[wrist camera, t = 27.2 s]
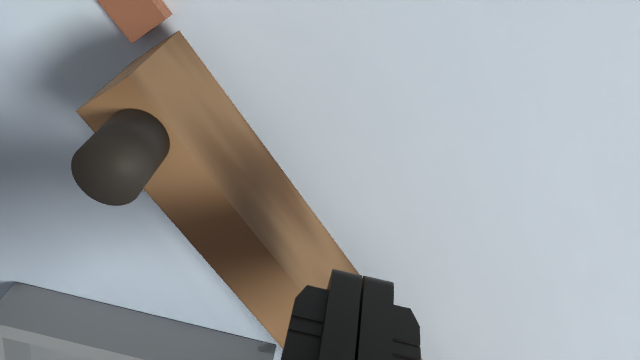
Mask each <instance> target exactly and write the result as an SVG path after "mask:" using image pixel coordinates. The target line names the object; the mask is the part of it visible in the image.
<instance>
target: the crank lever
mask: <svg viewBox="0 0 640 360" xmlns="http://www.w3.org/2000/svg"><path fill="white" fill-rule="evenodd" d="M76 112H77V113H78V114H79V115H80V116H81V118H82V119H83V120H84V121H85V122H86V123H87V124H88V126H89V127H90V128H91V129H92V130H93V131H94V132H95V133H94V134H93V135H92V136H91V137H90V138H89V139H88V140H87V141H86V142H85V143H84V144H83V145H82V146H81V147H80V148H79V149H78V150H77V151H76V153H75V154H74V156H73V158H72V163H71V168H72V174H73V177H74V179H75V181H76V183H77V184H78V186H79V187H80V188H81V189H82V190H83V191H84V192H85V193H86V194H87V195H88V196H89V197H91V198H93V199H94V200H96V201H98V202H101V203H103V204H107V205H114V206H119V205H125V204H128V203H130V202H132V201H133V200H135V199H136V198H137V196H138V195H139V194H140V192H141V191H142V190H143V189H144V190H145V191H146V192H147V193H148V194H149V196H150V197H151V198H152V199H153V200H154V201H155V203H156V204H157V205H158V206H159V207H160V208H161V209H162V211H163V212H164V213H165V214H166V215H167V216H168V217H169V219H170V220H171V221H172V222H173V223H174V224H175V225H176V227H177V228H178V229H179V230H180V231H181V232H182V233H183V235H184V236H185V237H186V238H187V239H188V240H189V242H190V243H191V244H192V245H193V246H194V247H195V248H196V250H197V251H198V252H199V253H200V254H201V255H202V256H203V258H204V259H205V260H206V261H207V262H208V263H209V264H210V266H211V267H212V268H213V269H214V270H215V271H216V273H217V274H218V275H219V276H220V277H221V278H222V279H223V281H224V282H225V283H226V284H227V285H228V286H229V287H230V289H231V290H232V291H233V292H234V293H235V294H236V295H237V297H238V298H239V299H240V300H241V301H242V302H243V304H244V305H245V306H246V307H247V308H248V309H249V310H250V312H251V313H252V314H253V315H254V316H255V317H256V318H257V320H258V321H259V322H260V323H261V324H262V325H263V326H264V328H265V329H266V330H267V331H268V332H269V333H270V334H271V336H272V337H273V338H274V339H275V340H276V341H277V343H278V344H279V345H280V346H281V347H282V348H284V344H285V340H286V335H287V331H288V327H289V322H290V318H291V314H292V309H293V305H294V301H295V297H296V296H297V295H298V294H299V293H300V292H301V291H302V290H303V289H304V288H305V287H306V286H307V285H310V286H314V287H318V288H323V289H327V287H328V283H329V279H330V275H331V272H332V269H336V270H340V271H345V272H349V273H353V274H358V275H359V273H358V272H357V271H356V269H355V268H354V267H353V265H352V264H351V262H350V261H349V260H348V258H347V257H346V256H345V254H344V253H343V252H342V250H341V249H340V248H339V246H338V245H337V244H336V242H335V241H334V239H333V238H332V237H331V235H330V234H329V233H328V231H327V230H326V229H325V227H324V226H323V225H322V223H321V222H320V220H319V219H318V218H317V216H316V215H315V214H314V212H313V211H312V210H311V208H310V207H309V206H308V204H307V203H306V202H305V200H304V199H303V197H302V196H301V195H300V193H299V192H298V191H297V189H296V188H295V187H294V185H293V184H292V183H291V181H290V180H289V179H288V177H287V176H286V174H285V173H284V172H283V170H282V169H281V168H280V166H279V165H278V164H277V162H276V161H275V160H274V158H273V157H272V155H271V154H270V153H269V151H268V150H267V149H266V147H265V146H264V145H263V143H262V142H261V141H260V139H259V138H258V137H257V135H256V134H255V132H254V131H253V130H252V128H251V127H250V126H249V124H248V123H247V122H246V120H245V119H244V118H243V116H242V115H241V113H240V112H239V111H238V109H237V108H236V107H235V105H234V104H233V103H232V101H231V100H230V99H229V97H228V96H227V95H226V93H225V92H224V90H223V89H222V88H221V86H220V85H219V84H218V82H217V81H216V80H215V78H214V77H213V76H212V74H211V73H210V72H209V70H208V69H207V67H206V66H205V65H204V63H203V62H202V61H201V59H200V58H199V57H198V55H197V54H196V53H195V51H194V50H193V48H192V47H191V46H190V44H189V43H188V42H187V40H186V39H185V38H184V36H183V35H182V34H181V32H180V31H177V32H176V33H174V34H173V35H171V36H170V37H169V38H167V39H166V40H164V41H163V42H161V43H160V44H158V45H157V46H155V47H154V48H152V49H151V50H149V51H148V52H146V53H145V54H143V55H142V56H140V57H139V58H137V59H136V60H134V61H133V62H132V63H131V64H130V65H129V66H127V67H126V68H125V69H124V70H123V71H122V72H121V73H119V74H118V75H117V76H116V77H115V78H114V79H112V80H111V81H110V82H109V83H108V84H107V85H106V86H104V87H103V88H102V89H101V90H100V91H99V92H97V93H96V94H95V95H94V96H93V97H92V98H91V99H89V100H88V101H87V102H86V103H85V104H84V105H83V106H81V107H80V108H79V109H78V110H77V111H76ZM421 360H422V359H421Z"/></svg>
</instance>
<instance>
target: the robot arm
mask: <svg viewBox="0 0 640 360" xmlns="http://www.w3.org/2000/svg"><path fill="white" fill-rule="evenodd" d="M393 301H394V284H393V282H389V281H384V280H380V279H376V278H371V277H367V276H363V278H362V275H358V274H353V273H349V272H345V271H340V270H336V269H332V272H331V275H330V279H329V283H328V287H327V289H323V288H318V287H314V286H310V285H307V286H306V287H305V288H304V289H303V290H302V291H301V292H300V293H299V294H298V295H297V296H296V297H295V301H294V305H293V309H292V314H291V318H290V322H289V327H288V331H287V335H286V340H285V344H284V348H283V353H282V357H281V360H421V351H420V326H419V324H418V322H417V320H416V318H415V316H414V314H413V312H412V311H411V309H410V308H405V307H401V306H397V305H393Z"/></svg>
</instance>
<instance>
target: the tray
mask: <svg viewBox="0 0 640 360" xmlns="http://www.w3.org/2000/svg"><path fill="white" fill-rule="evenodd" d="M275 349H276V345H273V344H269V343H265V342H261V341H257V340H253V339H248V338H244V337H240V336H236V335H232V334H228V333H224V332H220V331H215V330H211V329H207V328H203V327H199V326H195V325H191V324H187V323H183V322H178V321H174V320H170V319H166V318H162V317H158V316H154V315H150V314H145V313H141V312H137V311H133V310H129V309H125V308H121V307H117V306H113V305H108V304H104V303H100V302H96V301H92V300H88V299H84V298H80V297H75V296H71V295H67V294H63V293H59V292H55V291H51V290H47V289H43V288H38V287H34V286H30V285H26V284H22V283H18V282H15V283H14V284H13V285H12V287H11V288H10V289H9V290H8V291H7V292H6V294H5V295H4V296H3V297H2V298H1V299H0V360H273V357H274V353H275Z"/></svg>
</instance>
